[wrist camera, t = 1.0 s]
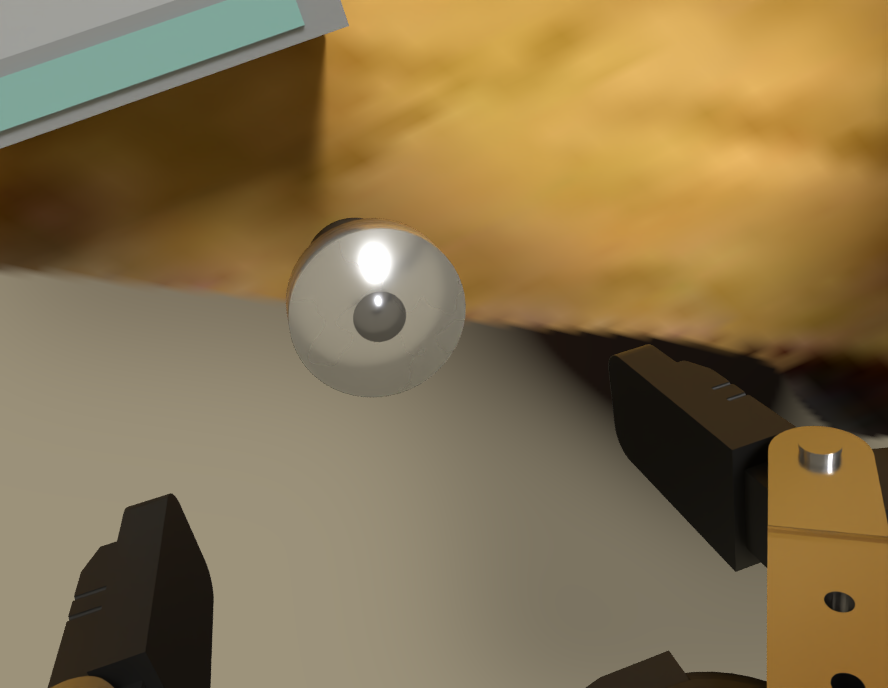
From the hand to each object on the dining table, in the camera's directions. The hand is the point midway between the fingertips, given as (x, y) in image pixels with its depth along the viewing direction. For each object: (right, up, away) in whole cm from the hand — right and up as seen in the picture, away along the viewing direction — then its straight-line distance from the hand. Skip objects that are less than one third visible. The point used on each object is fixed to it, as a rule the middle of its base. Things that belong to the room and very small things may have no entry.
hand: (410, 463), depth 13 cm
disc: (-2, +4, +13) cm, 13 cm away
